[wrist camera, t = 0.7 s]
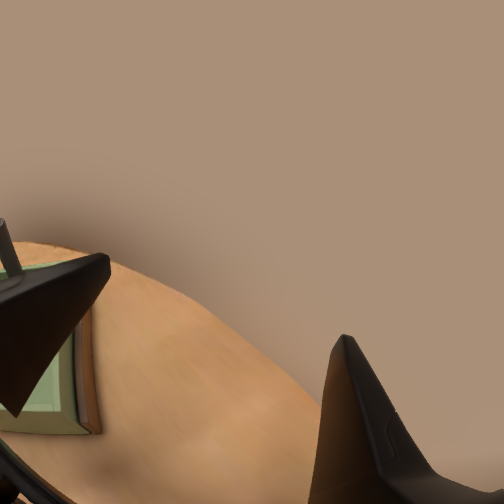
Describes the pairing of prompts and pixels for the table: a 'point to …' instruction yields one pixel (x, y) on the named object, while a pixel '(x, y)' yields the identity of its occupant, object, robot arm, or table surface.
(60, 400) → the container
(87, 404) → the brown wooden tray
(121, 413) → the table surface
